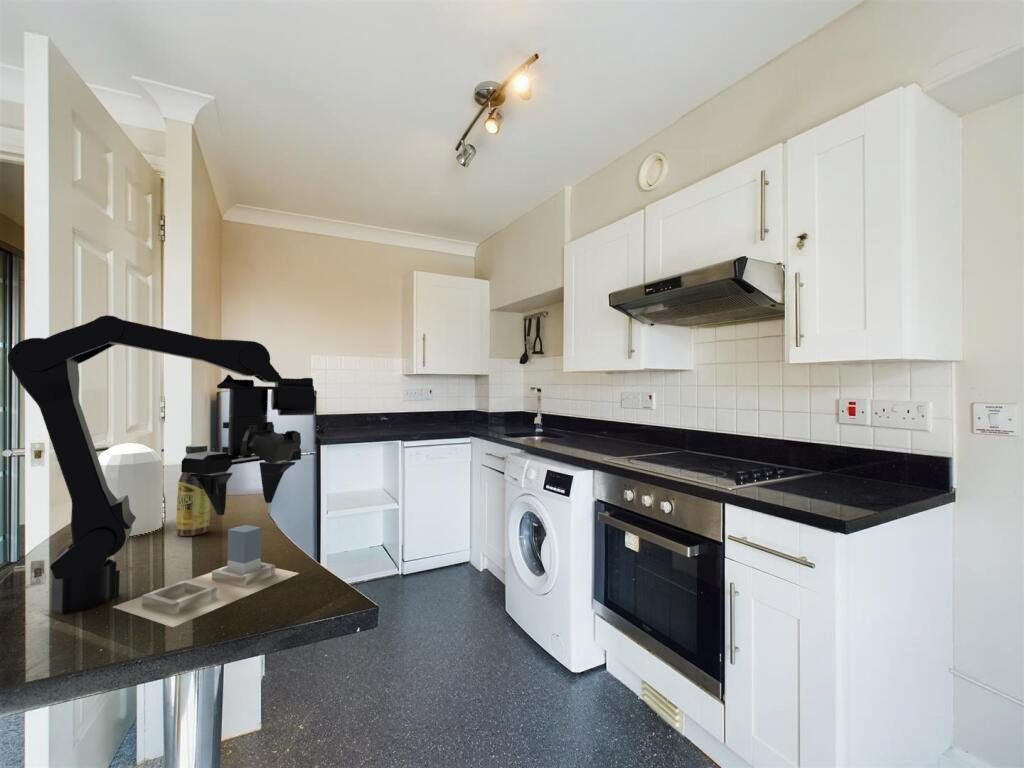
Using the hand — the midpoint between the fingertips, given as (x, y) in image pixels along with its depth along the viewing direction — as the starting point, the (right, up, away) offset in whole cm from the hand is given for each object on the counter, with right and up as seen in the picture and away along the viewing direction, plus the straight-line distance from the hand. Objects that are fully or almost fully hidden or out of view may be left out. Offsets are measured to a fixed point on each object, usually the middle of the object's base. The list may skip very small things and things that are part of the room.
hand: (245, 508), depth 78 cm
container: (-43, -13, +28) cm, 53 cm away
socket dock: (-1, -12, -6) cm, 13 cm away
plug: (+1, -11, -2) cm, 11 cm away
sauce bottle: (-27, -13, +26) cm, 39 cm away
